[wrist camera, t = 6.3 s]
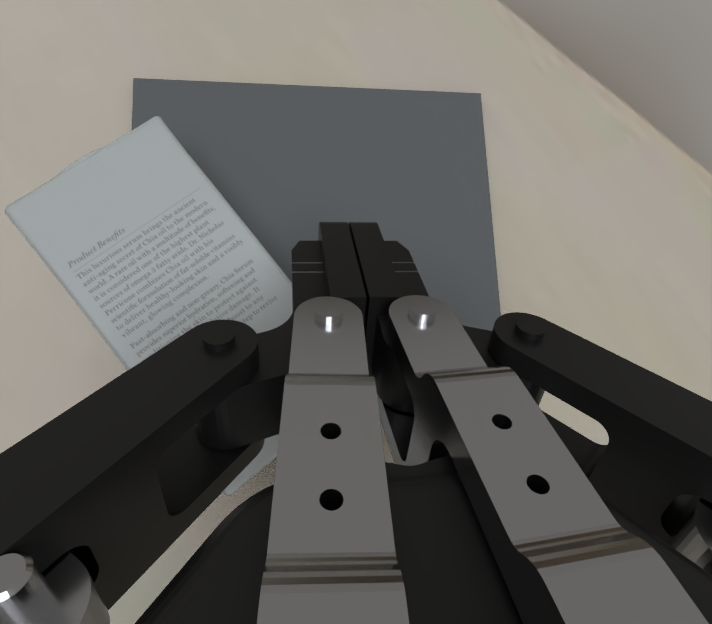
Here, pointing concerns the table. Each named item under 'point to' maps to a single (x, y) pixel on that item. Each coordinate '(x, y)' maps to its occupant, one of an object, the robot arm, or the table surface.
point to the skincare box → (152, 250)
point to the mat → (347, 171)
